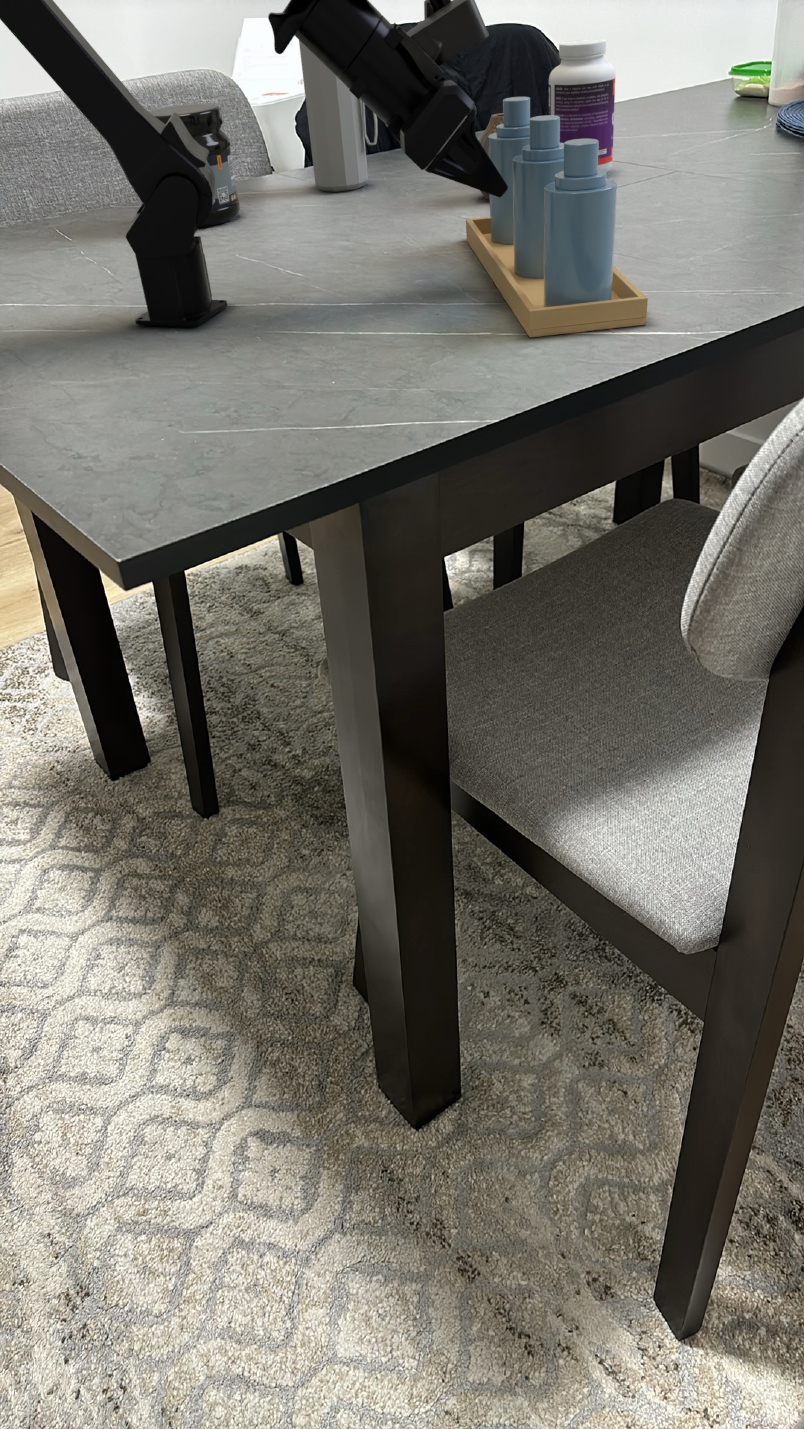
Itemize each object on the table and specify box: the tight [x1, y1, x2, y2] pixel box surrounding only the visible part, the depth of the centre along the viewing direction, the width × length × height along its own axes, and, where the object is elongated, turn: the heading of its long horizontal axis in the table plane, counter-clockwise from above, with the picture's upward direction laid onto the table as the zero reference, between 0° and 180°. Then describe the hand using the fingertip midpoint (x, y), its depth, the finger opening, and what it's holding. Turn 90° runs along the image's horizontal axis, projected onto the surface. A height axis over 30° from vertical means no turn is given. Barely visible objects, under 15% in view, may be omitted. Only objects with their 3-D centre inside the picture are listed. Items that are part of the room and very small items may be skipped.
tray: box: [465, 216, 649, 338], centre depth 96 cm, size 34×10×2 cm, turn 6°
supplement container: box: [147, 103, 241, 229], centre depth 125 cm, size 10×10×12 cm
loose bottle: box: [513, 114, 564, 278], centre depth 93 cm, size 6×6×12 cm
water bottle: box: [298, 39, 378, 193], centre depth 130 cm, size 9×8×25 cm
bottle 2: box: [543, 139, 618, 307], centre depth 82 cm, size 6×6×12 cm
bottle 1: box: [488, 96, 531, 245], centre depth 103 cm, size 6×6×12 cm
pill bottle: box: [548, 38, 616, 174], centre depth 128 cm, size 8×8×14 cm
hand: (495, 182), depth 92 cm, fingers open, 9 cm apart
